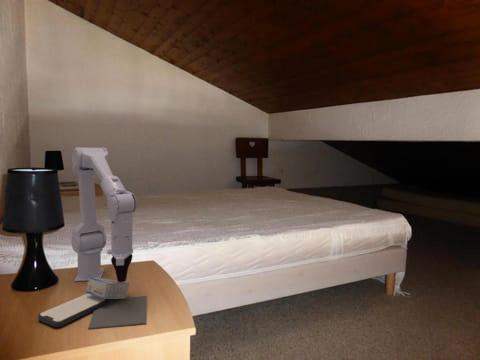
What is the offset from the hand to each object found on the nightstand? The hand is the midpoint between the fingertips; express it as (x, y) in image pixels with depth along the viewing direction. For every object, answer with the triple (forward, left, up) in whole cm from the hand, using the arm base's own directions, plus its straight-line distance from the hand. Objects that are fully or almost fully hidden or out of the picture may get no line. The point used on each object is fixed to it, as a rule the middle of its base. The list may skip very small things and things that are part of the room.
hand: (121, 280), depth 103 cm
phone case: (+4, -12, -6) cm, 14 cm away
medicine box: (-4, -1, -4) cm, 6 cm away
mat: (+6, 0, -6) cm, 9 cm away
